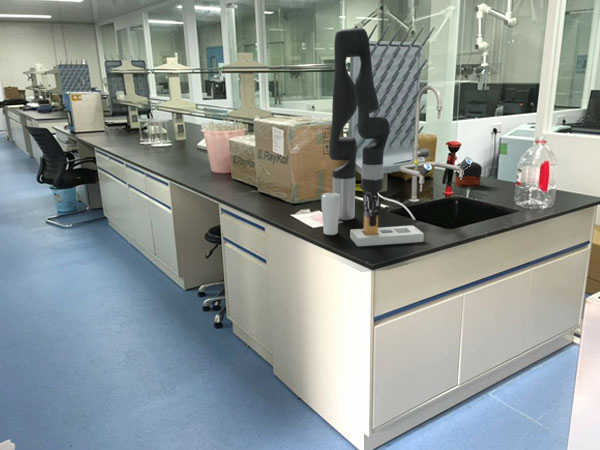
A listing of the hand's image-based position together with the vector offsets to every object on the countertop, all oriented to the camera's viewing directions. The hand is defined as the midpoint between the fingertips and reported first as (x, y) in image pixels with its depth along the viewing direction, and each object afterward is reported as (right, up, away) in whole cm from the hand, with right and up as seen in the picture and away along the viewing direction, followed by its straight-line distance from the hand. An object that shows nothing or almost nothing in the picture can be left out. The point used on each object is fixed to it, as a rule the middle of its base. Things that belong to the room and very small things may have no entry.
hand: (370, 223), depth 169 cm
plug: (0, -4, +1) cm, 4 cm away
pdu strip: (+6, -6, +3) cm, 9 cm away
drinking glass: (-14, -4, +10) cm, 17 cm away
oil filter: (+64, +20, +85) cm, 108 cm away
